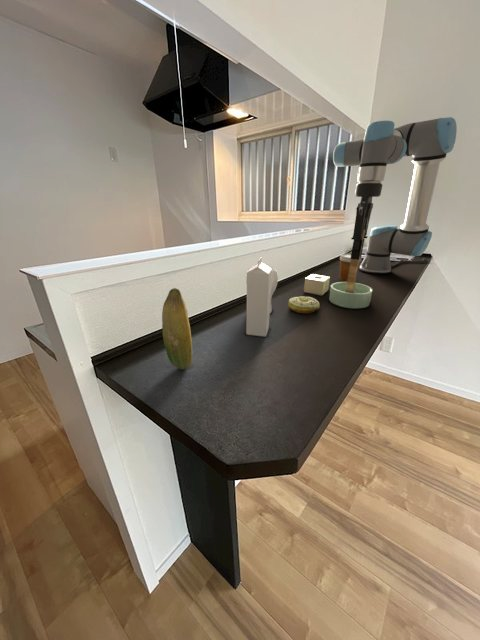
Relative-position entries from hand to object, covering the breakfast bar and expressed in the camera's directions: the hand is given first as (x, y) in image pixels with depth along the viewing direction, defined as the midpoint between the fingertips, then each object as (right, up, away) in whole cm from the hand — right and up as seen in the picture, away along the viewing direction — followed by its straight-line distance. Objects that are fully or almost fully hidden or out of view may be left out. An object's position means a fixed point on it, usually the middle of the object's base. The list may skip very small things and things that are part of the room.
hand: (355, 258), depth 92 cm
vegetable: (-55, -34, -30) cm, 71 cm away
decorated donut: (-18, -18, +3) cm, 25 cm away
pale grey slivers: (-33, -19, +2) cm, 38 cm away
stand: (-8, -9, +21) cm, 24 cm away
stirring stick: (0, -13, +6) cm, 15 cm away
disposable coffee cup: (+11, -3, +35) cm, 37 cm away
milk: (-35, -25, -12) cm, 45 cm away
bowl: (+1, -15, +9) cm, 18 cm away
